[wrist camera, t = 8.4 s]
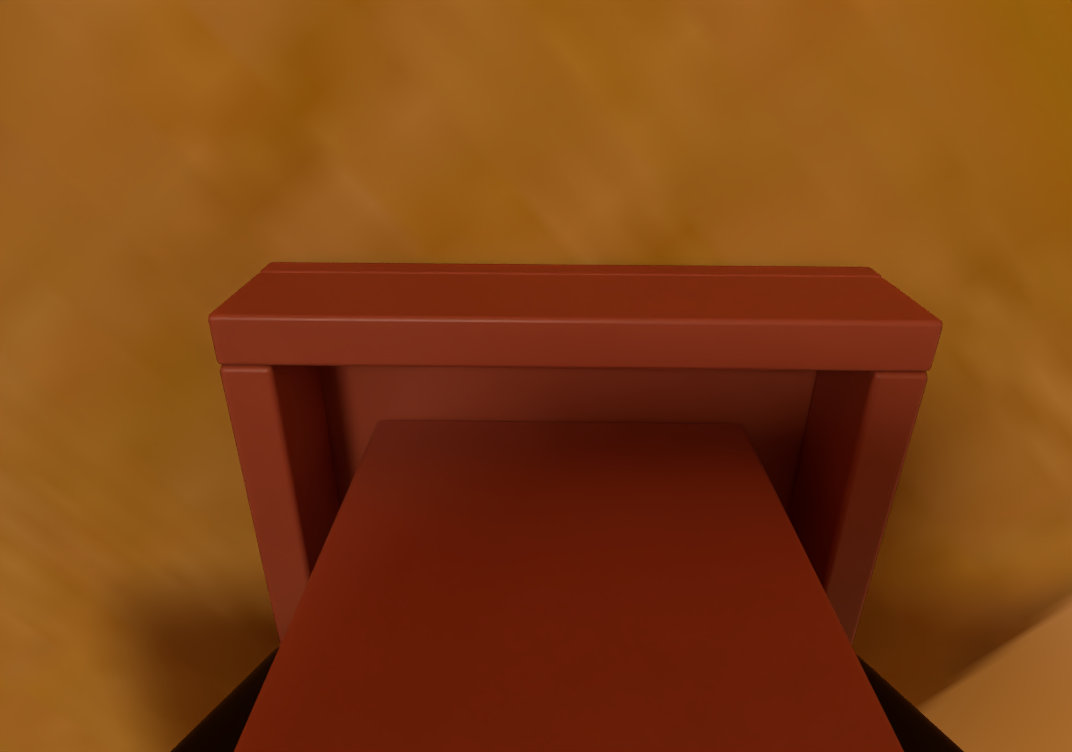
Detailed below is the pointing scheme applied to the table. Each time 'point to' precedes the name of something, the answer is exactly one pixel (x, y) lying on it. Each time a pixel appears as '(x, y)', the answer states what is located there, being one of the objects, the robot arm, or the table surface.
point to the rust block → (564, 603)
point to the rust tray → (576, 381)
